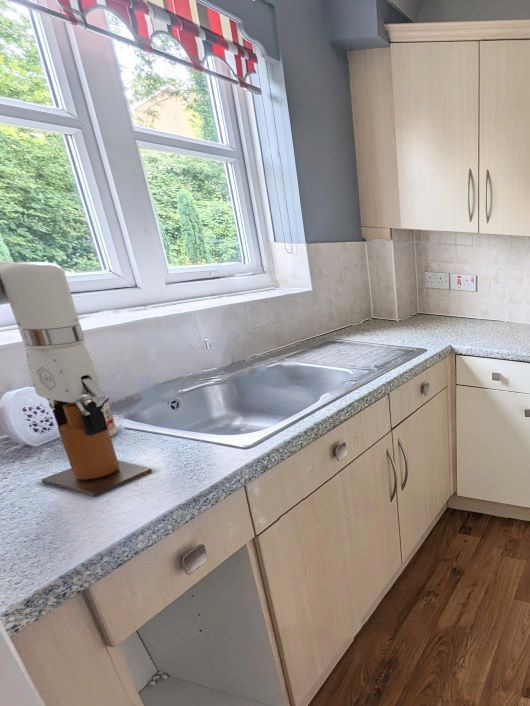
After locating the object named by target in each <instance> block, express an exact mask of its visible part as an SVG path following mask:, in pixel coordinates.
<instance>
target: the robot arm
mask: <svg viewBox="0 0 530 706" xmlns="http://www.w3.org/2000/svg"><path fill="white" fill-rule="evenodd" d="M8 304H9V305H10V308H11V312H12V314H13V317H14V320H15V323H16V326H17V328H18V331H19V335H20V337H21V340H22V343H23V345H24V350H25V356H26V357H25V358H26V363H27V367H28V370H29V375H30V379H31V381H32V385H33V388H34V392H35V394H36V395H37V396H39V397H41V398H44V399H46V400H47V401H48V407H49V409H51V411H52V413H53V416H54V420H55V422H56V425H57V429H58V428H59V427H60V426H61V425H63V424H65V423H68V421H67V418H66V415H65V412H64V409H63V405H65V404H68V403H73V402H76V404H77V405H78V407H79V409H80V410H81V412H82V413H83V415H80V417H81V420H82V423H83V426H84V429H85V432H86V434H87V435H94V434H97V433H100V432H103V431H105V430H107V429H108V427H107V424H106V420H105V417H104V414H103V410H104V407H103V406H104V401H105V399H106V396H107V394H105V392H104V391H103V390H102V386H101V383H100V379H99V376H98V373H97V370H96V367H95V366H94V362H93V360H92V357H91V356H90V352H89V351H88V349H87V347H86V345H85V343H86V339H85V335H84V332H83V329H82V326H81V322H80V319H79V316H78V312H77V309H76V306H75V302H74V298H73V296H72V293H71V289H70V286H69V282H68V280H67V276H66V273H65V271H64V269H63V268H62V267H61V266H60V265H58V264H56V263H53V262H46V261H44V262H43V261H17V262H8V261H0V306H2V305H8ZM83 394H86V395H89V396H86V397H83V398H81V397H82V395H83ZM87 400H91V402H89V404H88V405H87V406H86V405H85V403H84V402H83V401H87Z"/></svg>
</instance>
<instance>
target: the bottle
mask: <svg viewBox="0 0 530 706" xmlns="http://www.w3.org/2000/svg"><path fill="white" fill-rule="evenodd" d="M83 402H84V403H85V405H86V406H87V405H88V404H89V403H88V402H87V401H83ZM63 409H64V412H65V415H66V418H67V421H68V423H65V424H63V425H61V426H60V427H59V428H58V427H57V430H58V434H59V436H60V439H61V442H62V445H63V447H64V451H65V453H66V456H67V459H68V461H69V465H70V468H72V471H73V474H74V476H75V478H77V479H93V478H98V477H102V476H105V475H108V474H110V473H112V472H114V471H116V470H117V469H118V468H119V463H118V461H119V460H118V456H117V454H116V450H115V448H114V443H113V440H112V436H111V437H110V434H109V430H108V429H107V430H105V431H103V432H100V433H97V434H94V435H87V434H86V432H85V429H84V426H83V423H82V420H81V417H80V415H83V413H82V412H81V410H80V409H79V407H78V405H77V404H76V402H73V403H68V404H65V405H63Z"/></svg>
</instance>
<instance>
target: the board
mask: <svg viewBox="0 0 530 706" xmlns="http://www.w3.org/2000/svg"><path fill="white" fill-rule="evenodd" d="M118 463H119V468H118V469H117V470H116V471H114V472H112V473H110V474H108V475H105V476H102V477H98V478H93V479H77V478H75V476H74V474H73V471H72V468H71V467H70V468H68V469H65V470H62V471H60V472H57V473H54V474H51V475H49V476H46V477H44V478H41V482H42V484H44V485H45V484H46V485H49V486H53V487H57V488H60V489H64V490H68V491H71V492H76V493H79V494H83V495H86V496H90V497H94V498H96V497H98V496H101V495H103V494H105V493H107V492H110V491H112V490H114V489H116V488H119V487H121V486H123V485H125V484H128V483H131V482H132V481H135V480H137V479H139V478H141V477H144V476H146V475H149V474H150V473H152V471H153V470H152V468H151V467H148V466H147V467H146V466H143V465H138V464H134V463H130V462H126V461H121V460H118Z"/></svg>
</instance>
